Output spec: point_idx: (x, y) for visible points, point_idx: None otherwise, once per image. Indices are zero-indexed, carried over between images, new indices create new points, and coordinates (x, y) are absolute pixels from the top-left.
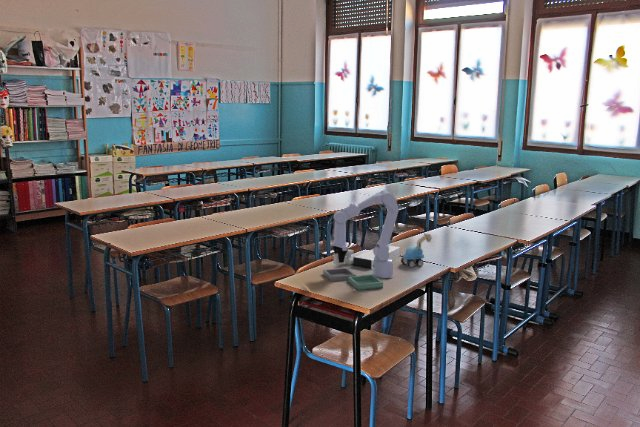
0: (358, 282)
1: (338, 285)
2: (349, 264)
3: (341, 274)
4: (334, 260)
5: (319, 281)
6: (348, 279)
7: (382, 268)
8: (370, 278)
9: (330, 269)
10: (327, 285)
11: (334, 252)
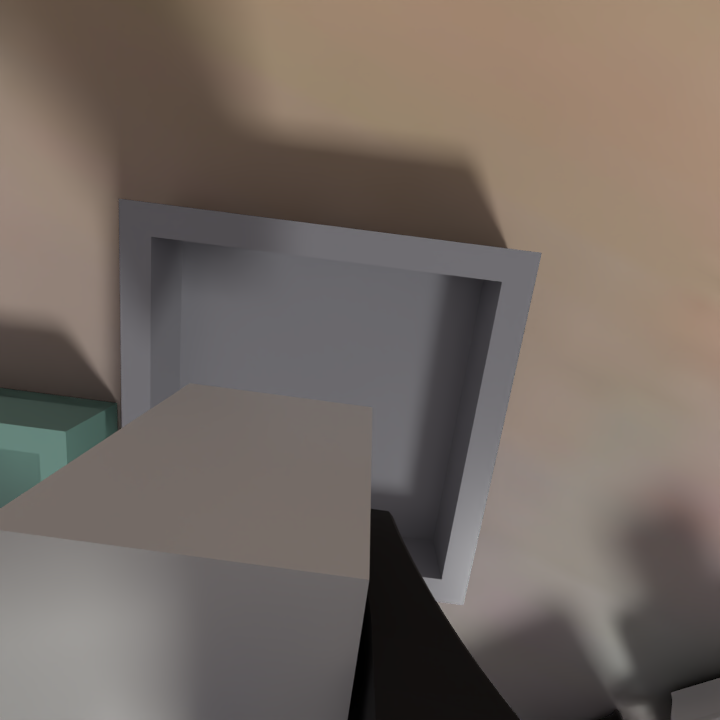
0: (25, 489)
1: (52, 251)
2: (673, 708)
3: (383, 462)
4: (285, 427)
5: (290, 80)
6: (75, 417)
7: None
8: None
9: (502, 371)
10: (89, 110)
11: (479, 675)
